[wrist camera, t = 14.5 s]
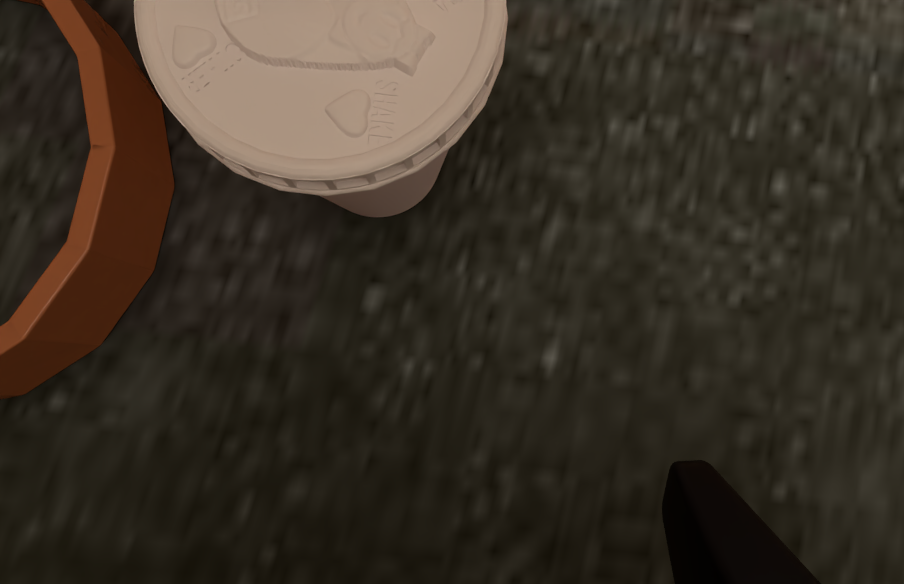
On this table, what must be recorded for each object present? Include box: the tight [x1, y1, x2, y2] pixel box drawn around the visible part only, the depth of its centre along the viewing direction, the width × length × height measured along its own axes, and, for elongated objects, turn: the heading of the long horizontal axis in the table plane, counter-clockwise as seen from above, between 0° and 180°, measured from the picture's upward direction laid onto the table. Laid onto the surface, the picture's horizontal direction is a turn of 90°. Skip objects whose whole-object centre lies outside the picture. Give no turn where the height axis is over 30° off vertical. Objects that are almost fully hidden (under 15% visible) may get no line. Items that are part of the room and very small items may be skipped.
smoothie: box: [134, 0, 508, 217], centre depth 16 cm, size 6×6×14 cm
